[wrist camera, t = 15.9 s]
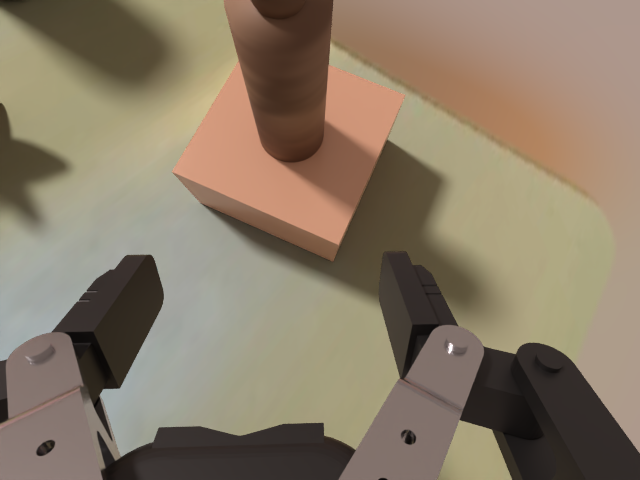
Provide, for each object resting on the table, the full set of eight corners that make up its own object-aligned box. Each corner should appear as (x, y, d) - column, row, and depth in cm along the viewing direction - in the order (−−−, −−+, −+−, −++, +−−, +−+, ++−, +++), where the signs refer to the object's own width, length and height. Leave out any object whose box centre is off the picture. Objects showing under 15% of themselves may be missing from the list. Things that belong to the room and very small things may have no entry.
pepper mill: (248, 147, 23) (188, -27, 12) (276, 96, 24) (246, -109, 13) (307, 172, 23) (305, 18, 12) (333, 119, 24) (355, -70, 13)
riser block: (200, 202, 29) (171, 171, 23) (264, 88, 31) (253, 35, 26) (333, 261, 28) (338, 245, 22) (387, 139, 30) (405, 95, 25)
